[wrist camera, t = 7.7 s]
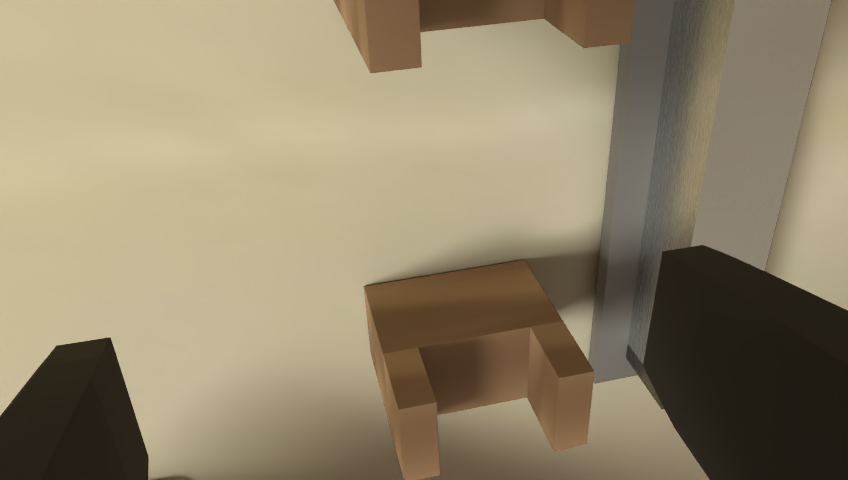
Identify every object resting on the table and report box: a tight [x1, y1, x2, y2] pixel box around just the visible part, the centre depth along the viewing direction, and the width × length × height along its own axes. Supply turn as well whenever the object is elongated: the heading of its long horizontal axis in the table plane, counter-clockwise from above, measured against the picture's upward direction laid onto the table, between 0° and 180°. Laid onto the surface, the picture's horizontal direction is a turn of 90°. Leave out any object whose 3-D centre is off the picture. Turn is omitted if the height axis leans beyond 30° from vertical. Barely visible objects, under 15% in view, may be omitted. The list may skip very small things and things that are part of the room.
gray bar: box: [589, 0, 674, 383], centre depth 20 cm, size 18×4×1 cm, turn 3°
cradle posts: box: [334, 0, 635, 480], centre depth 17 cm, size 13×5×5 cm, turn 3°
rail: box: [626, 0, 832, 409], centre depth 19 cm, size 16×2×2 cm, turn 3°
